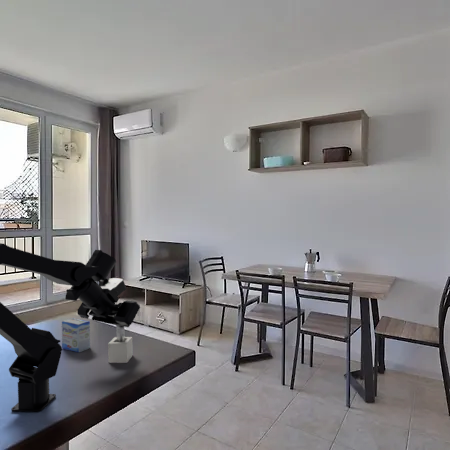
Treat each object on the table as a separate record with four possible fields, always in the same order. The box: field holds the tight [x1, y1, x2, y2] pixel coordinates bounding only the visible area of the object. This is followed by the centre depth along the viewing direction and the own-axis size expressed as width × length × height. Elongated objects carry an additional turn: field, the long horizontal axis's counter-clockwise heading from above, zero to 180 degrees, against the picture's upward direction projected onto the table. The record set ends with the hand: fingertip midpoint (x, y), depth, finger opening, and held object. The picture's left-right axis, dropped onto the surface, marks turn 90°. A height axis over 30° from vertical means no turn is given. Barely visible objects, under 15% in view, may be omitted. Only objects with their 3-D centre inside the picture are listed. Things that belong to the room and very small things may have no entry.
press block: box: [107, 336, 133, 364], centre depth 100 cm, size 5×5×6 cm
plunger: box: [113, 316, 126, 342], centre depth 99 cm, size 4×4×10 cm
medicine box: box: [61, 317, 91, 353], centre depth 108 cm, size 8×4×9 cm, turn 62°
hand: (123, 324), depth 101 cm, fingers closed on plunger, 4 cm apart
